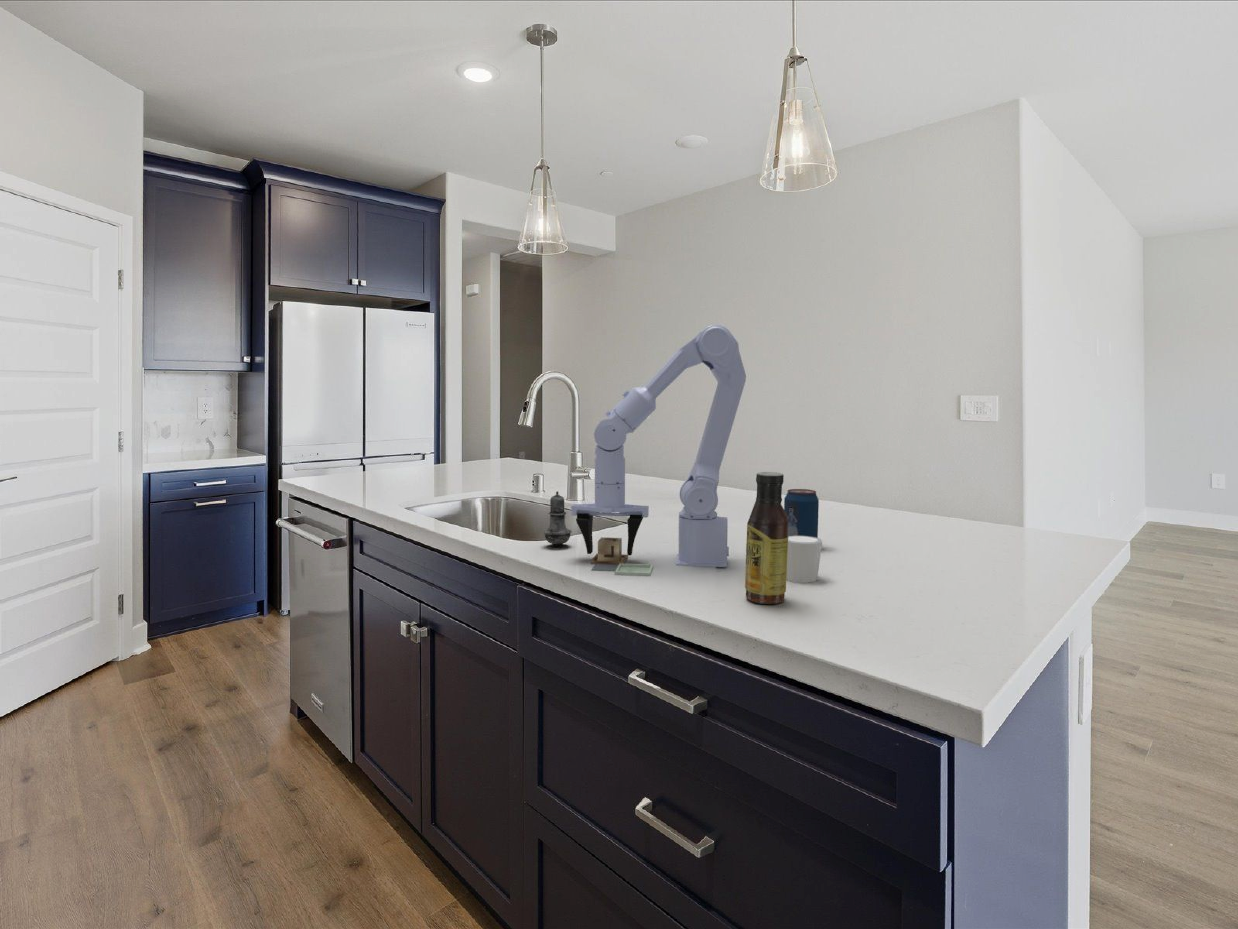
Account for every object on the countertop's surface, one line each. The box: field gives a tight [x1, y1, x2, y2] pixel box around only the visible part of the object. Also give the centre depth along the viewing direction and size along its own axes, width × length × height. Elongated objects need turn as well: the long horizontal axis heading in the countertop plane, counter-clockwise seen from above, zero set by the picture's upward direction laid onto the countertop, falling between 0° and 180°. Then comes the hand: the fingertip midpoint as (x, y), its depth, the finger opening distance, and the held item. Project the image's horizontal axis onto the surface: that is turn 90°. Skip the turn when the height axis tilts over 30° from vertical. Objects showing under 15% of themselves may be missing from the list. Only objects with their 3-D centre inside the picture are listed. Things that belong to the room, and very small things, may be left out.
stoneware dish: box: [614, 563, 654, 577], centre depth 122 cm, size 6×6×1 cm
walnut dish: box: [590, 553, 629, 565], centre depth 130 cm, size 6×6×1 cm
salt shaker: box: [542, 491, 572, 550], centre depth 141 cm, size 6×6×12 cm
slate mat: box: [591, 564, 618, 572], centre depth 124 cm, size 4×4×1 cm
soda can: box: [783, 488, 820, 538], centre depth 142 cm, size 7×7×12 cm
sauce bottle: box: [744, 471, 788, 605], centre depth 104 cm, size 7×6×20 cm
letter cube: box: [597, 536, 623, 562], centre depth 129 cm, size 4×4×4 cm
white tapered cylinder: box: [786, 536, 823, 584], centre depth 118 cm, size 7×7×7 cm
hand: (609, 553), depth 129 cm, fingers open, 7 cm apart
